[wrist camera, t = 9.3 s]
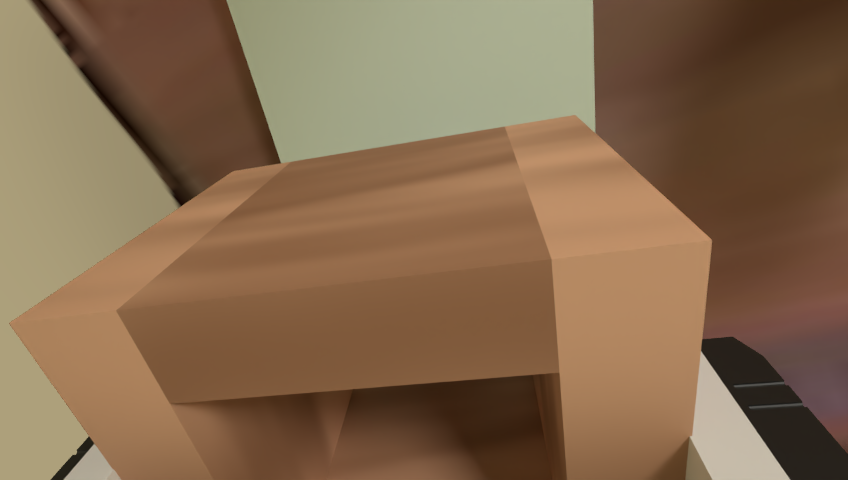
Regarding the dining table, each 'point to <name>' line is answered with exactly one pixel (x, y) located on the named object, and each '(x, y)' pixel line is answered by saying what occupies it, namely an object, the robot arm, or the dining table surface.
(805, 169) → the dining table surface
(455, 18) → the post plate
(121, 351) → the collar
